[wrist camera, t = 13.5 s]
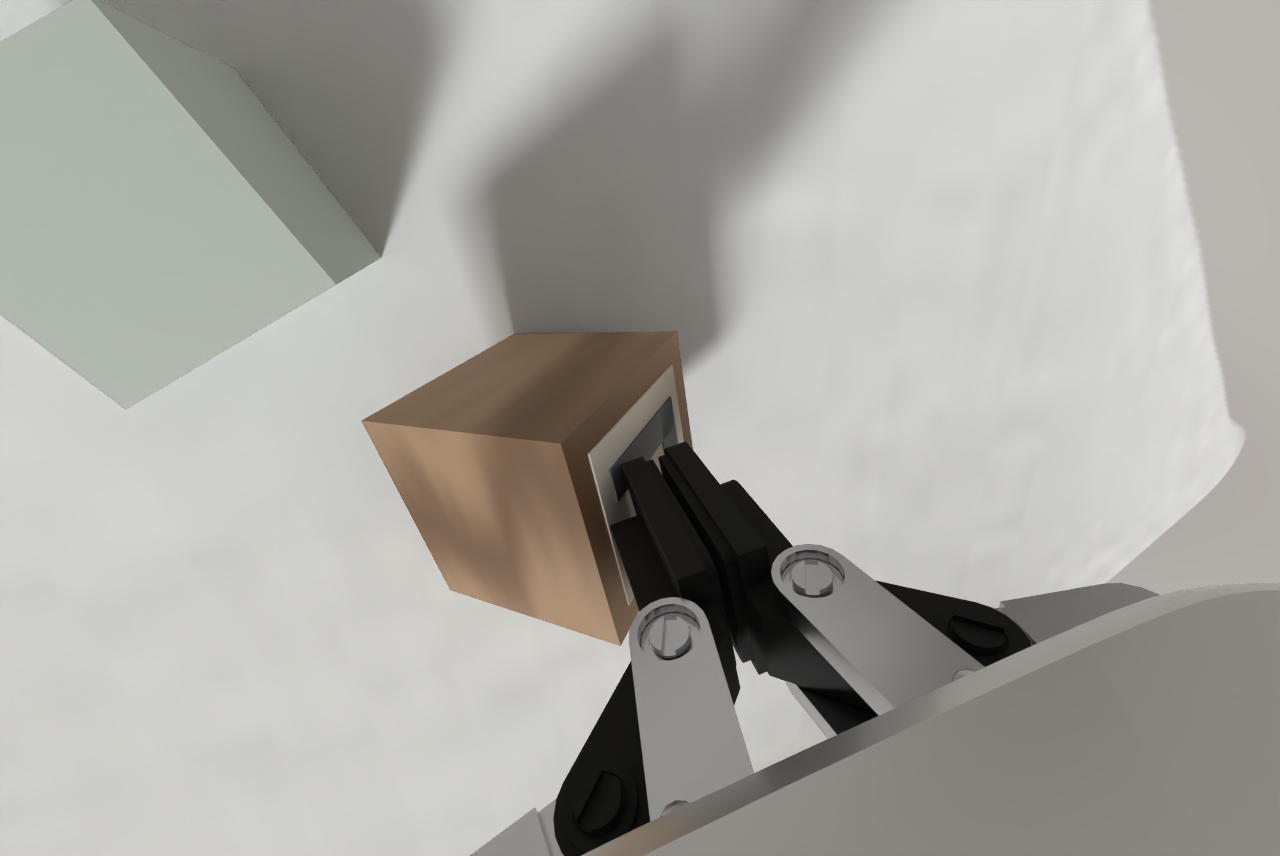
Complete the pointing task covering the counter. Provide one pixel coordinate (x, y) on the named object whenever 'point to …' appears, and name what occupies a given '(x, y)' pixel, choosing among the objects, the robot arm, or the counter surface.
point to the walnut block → (537, 468)
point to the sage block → (150, 203)
